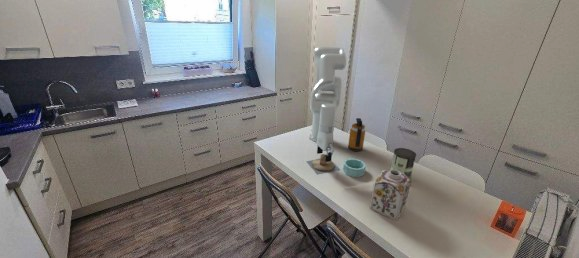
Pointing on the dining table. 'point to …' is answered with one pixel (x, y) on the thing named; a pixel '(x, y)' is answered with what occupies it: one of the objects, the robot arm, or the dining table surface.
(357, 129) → the canister
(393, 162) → the coffee can
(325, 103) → the robot arm
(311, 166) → the mat
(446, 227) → the dining table surface
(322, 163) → the lid
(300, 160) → the dining table surface
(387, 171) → the decorative jar
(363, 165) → the bowl
